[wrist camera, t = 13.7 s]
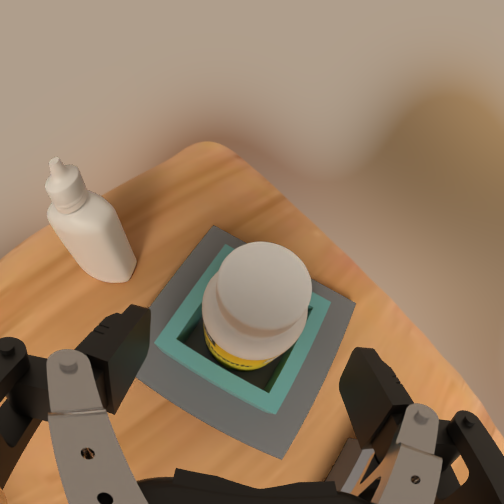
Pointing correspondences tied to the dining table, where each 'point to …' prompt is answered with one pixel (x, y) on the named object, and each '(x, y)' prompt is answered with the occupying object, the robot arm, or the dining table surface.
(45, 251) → the dining table surface
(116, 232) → the eye dropper bottle
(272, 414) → the port
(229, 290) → the supplement bottle
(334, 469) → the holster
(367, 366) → the robot arm
